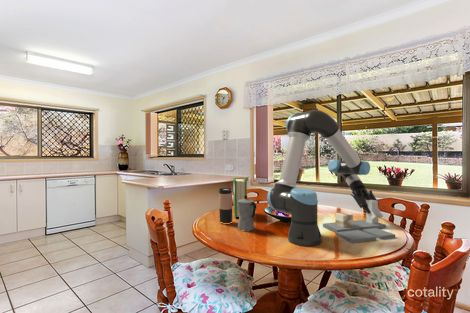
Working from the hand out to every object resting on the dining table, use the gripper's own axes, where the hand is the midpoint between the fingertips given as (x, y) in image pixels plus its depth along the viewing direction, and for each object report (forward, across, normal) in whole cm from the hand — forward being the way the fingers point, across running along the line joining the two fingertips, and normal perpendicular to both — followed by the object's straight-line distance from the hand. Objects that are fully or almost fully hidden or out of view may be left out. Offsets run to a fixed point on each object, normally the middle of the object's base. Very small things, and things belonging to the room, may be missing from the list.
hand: (377, 217), depth 133 cm
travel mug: (-20, +76, -28) cm, 83 cm away
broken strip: (+11, +18, +4) cm, 21 cm away
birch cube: (0, +18, -5) cm, 19 cm away
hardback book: (-31, +63, -38) cm, 80 cm away
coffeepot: (-9, +68, -16) cm, 70 cm away
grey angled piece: (+1, +12, -6) cm, 14 cm away
